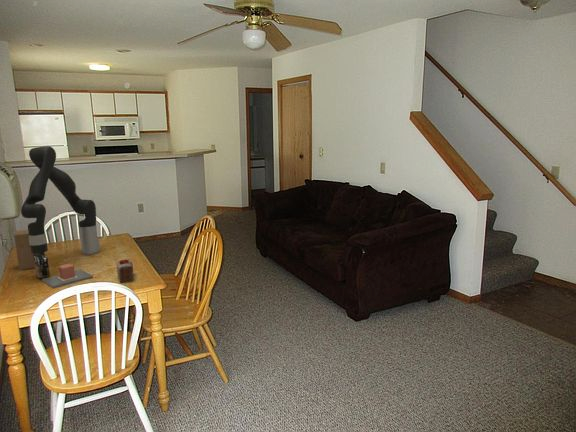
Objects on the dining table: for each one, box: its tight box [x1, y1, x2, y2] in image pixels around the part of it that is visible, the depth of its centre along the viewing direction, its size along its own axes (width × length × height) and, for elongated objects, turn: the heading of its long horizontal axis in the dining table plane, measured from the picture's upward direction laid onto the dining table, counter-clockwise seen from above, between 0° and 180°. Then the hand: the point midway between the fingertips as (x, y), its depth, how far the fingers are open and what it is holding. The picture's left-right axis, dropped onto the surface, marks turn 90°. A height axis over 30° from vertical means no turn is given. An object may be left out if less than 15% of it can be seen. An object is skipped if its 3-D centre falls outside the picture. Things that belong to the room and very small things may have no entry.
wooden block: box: [13, 229, 35, 271], centre depth 229 cm, size 10×10×20 cm
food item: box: [116, 259, 134, 283], centre depth 211 cm, size 14×8×10 cm, turn 28°
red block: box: [58, 263, 76, 280], centre depth 209 cm, size 6×6×6 cm
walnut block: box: [34, 263, 51, 279], centre depth 212 cm, size 5×5×6 cm
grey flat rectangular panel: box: [41, 269, 94, 289], centre depth 210 cm, size 19×15×1 cm
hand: (42, 274), depth 213 cm, fingers closed on walnut block, 5 cm apart
